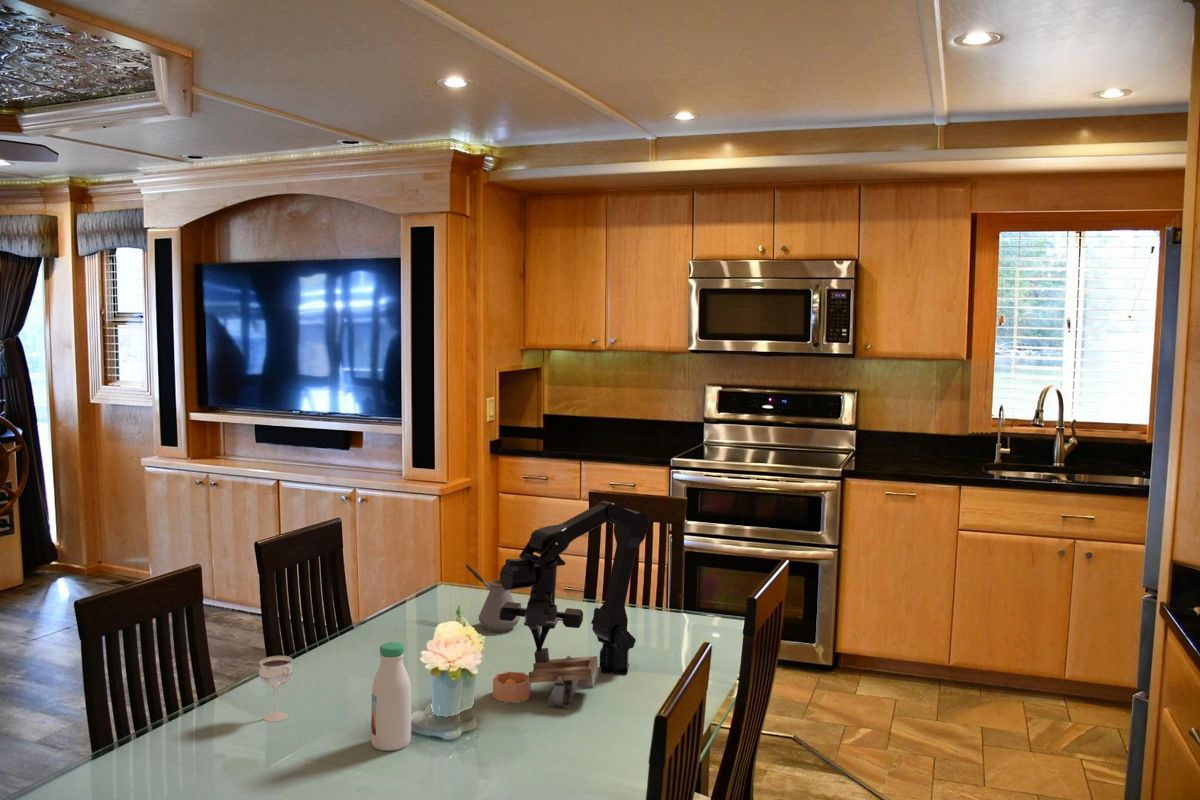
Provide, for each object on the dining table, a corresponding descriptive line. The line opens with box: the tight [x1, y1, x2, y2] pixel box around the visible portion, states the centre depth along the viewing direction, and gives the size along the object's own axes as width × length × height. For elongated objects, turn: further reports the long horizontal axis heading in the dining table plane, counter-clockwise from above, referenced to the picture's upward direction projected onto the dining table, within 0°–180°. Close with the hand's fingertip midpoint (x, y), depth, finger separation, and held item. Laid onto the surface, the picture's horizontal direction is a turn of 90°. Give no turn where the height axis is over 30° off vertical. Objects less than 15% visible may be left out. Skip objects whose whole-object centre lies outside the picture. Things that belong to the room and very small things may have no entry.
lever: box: [528, 647, 599, 690], centre depth 208 cm, size 14×14×7 cm
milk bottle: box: [370, 641, 412, 752], centre depth 182 cm, size 8×8×20 cm
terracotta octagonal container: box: [492, 671, 532, 703], centre depth 208 cm, size 8×8×4 cm
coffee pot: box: [462, 564, 521, 633], centre depth 258 cm, size 21×12×15 cm, turn 46°
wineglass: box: [258, 655, 294, 723], centre depth 193 cm, size 7×7×12 cm
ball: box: [504, 679, 517, 685], centre depth 208 cm, size 3×3×3 cm
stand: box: [546, 680, 579, 710], centre depth 209 cm, size 5×15×5 cm, turn 173°
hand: (539, 650), depth 212 cm, fingers closed, pressing on lever
